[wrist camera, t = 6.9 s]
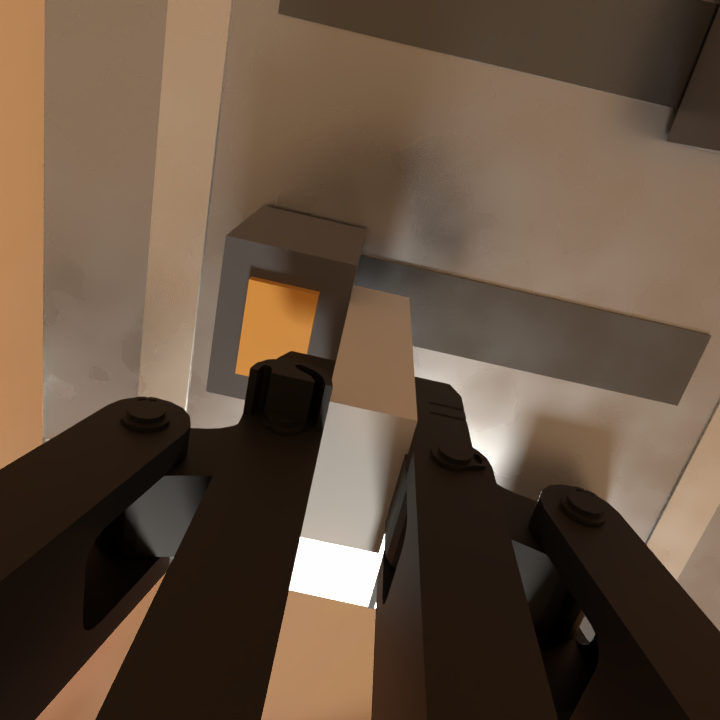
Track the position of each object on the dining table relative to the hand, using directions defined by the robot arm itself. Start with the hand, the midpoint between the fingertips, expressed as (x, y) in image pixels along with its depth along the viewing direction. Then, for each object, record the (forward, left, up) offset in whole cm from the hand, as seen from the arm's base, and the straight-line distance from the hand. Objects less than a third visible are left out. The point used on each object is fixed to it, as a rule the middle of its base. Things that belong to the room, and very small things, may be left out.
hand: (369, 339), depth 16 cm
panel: (+3, 0, -5) cm, 6 cm away
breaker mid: (-2, 0, -3) cm, 3 cm away
